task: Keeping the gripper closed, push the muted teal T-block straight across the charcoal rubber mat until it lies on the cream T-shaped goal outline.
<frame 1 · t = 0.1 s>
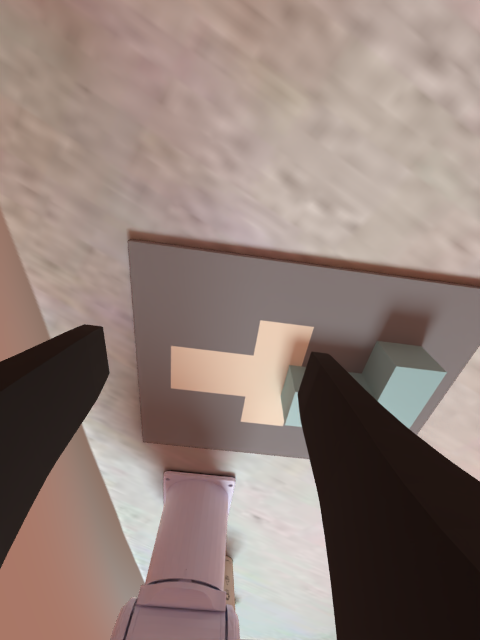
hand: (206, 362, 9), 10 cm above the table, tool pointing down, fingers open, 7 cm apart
t block: (340, 387, 23), resting on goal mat
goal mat: (292, 378, 23), on the table
coffee cup: (217, 559, 42), on the table
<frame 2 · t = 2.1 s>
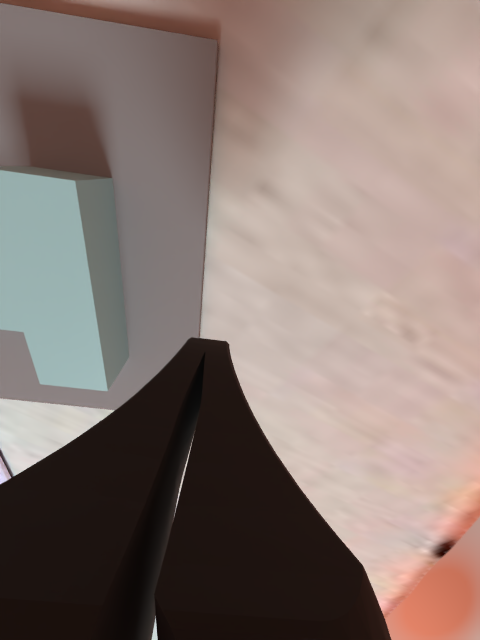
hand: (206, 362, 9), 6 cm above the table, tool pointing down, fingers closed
t block: (31, 271, 14), resting on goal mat
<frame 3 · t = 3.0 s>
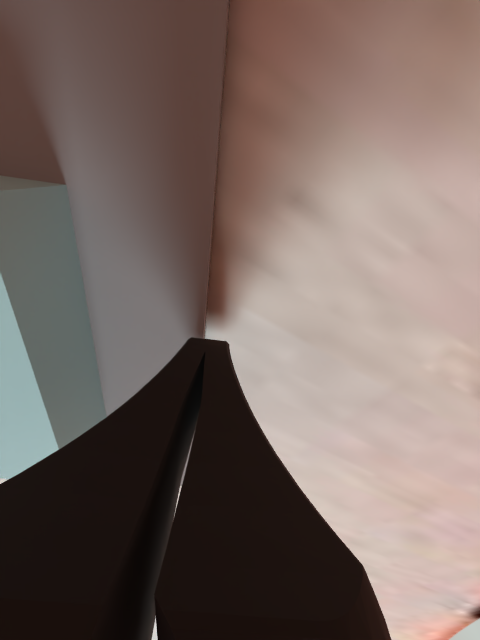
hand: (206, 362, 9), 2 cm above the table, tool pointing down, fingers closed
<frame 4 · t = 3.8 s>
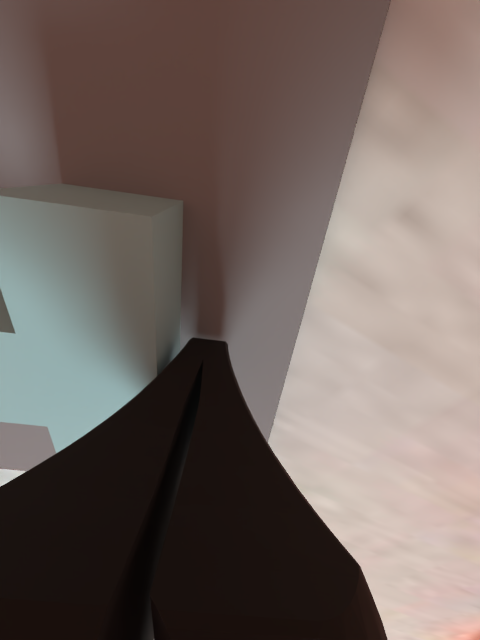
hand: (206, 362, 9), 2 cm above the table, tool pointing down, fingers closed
t block: (54, 325, 10), point 1 cm above the table, touching gripper
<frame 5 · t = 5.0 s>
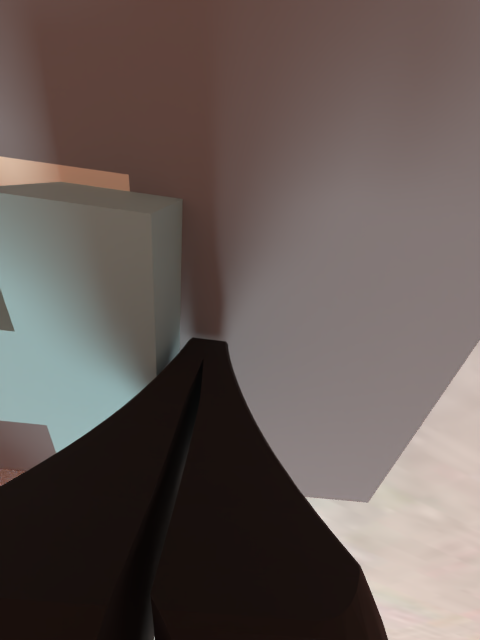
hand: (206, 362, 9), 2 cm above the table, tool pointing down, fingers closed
t block: (53, 324, 10), point 1 cm above the table, touching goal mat, gripper
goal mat: (138, 328, 11), on the table
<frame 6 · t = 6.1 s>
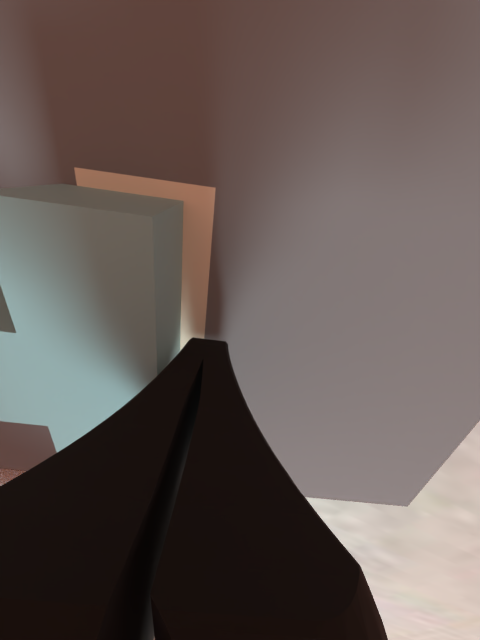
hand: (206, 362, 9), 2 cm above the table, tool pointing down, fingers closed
t block: (54, 325, 10), resting on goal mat, touching gripper
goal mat: (199, 336, 11), on the table
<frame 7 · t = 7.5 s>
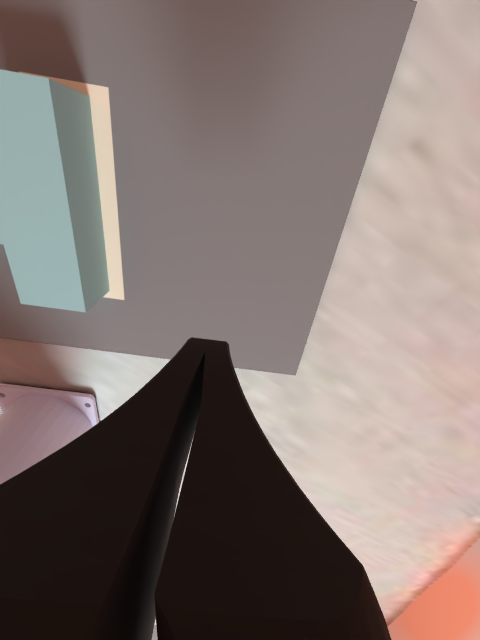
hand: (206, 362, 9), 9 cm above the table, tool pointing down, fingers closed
t block: (13, 196, 15), resting on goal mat
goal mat: (117, 210, 15), on the table
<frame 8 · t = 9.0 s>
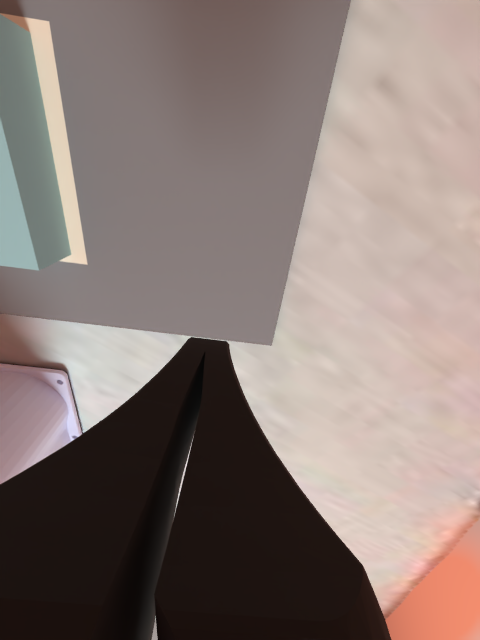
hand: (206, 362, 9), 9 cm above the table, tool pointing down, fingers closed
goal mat: (72, 165, 15), on the table
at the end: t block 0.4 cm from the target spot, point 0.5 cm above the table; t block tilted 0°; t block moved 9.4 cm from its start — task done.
